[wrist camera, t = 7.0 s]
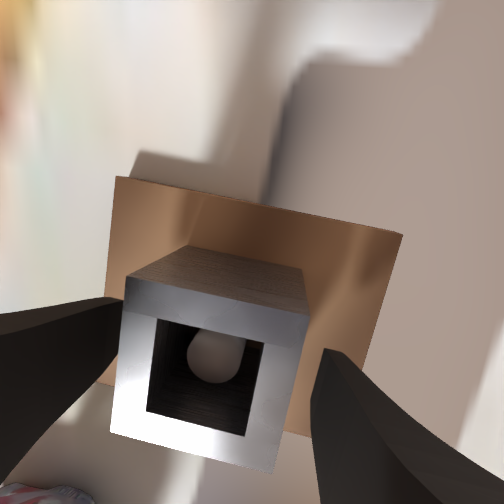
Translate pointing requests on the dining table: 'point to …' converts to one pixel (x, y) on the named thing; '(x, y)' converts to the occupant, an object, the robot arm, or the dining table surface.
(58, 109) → the dining table surface
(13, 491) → the red grey chunky piece
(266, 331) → the collar
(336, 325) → the shaft block
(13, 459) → the robot arm
